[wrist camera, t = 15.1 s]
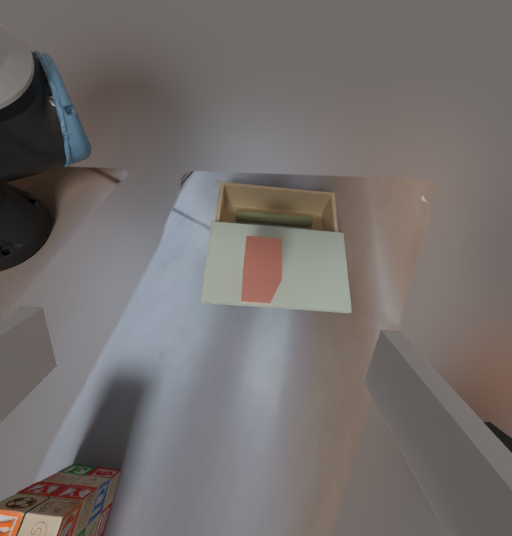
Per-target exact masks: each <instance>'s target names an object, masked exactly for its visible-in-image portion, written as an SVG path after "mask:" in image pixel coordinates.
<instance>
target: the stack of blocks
mask: <svg viewBox="0 0 512 536" xmlns="http://www.w3.org/2000/svg"><path fill="white" fill-rule="evenodd" d="M120 474H121V470H115V469H108V468H99V467H97V468H95V467H88V466H81V465H74V464H73V465H71V466H69V467H67V468H65V469H63V470H61V471H59V472H58V473H56V474H54V475H52V476H50V477H47V478H46V479H44V480H42V481H40V482H37V483H35V484H33V485H31V486H29V487H27V488H25V489H23V490H21V491H19V492H18V493H16V494H15V495H13V496H11V497H9V498H7V499H5V500H3V501H1V502H0V536H102V535H103V533H104V530H105V526H106V523H107V519H108V516H109V512H110V509H111V505H112V502H113V499H114V495H115V492H116V489H117V485H118V481H119V478H120Z"/></svg>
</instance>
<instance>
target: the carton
mask: <svg viewBox="0 0 512 536" xmlns="http://www.w3.org/2000/svg"><path fill="white" fill-rule="evenodd" d="M215 222H225V223H237V224H248V225H260V226H271V227H282V228H294V229H305V230H316V231H328V232H338V223H337V213H336V202H335V193H331V192H321V191H311V190H300V189H290V188H280V187H269V186H259V185H249V184H238V183H228V182H221V183H220V190H219V198H218V205H217V213H216V220H215Z"/></svg>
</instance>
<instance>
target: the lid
mask: <svg viewBox="0 0 512 536" xmlns="http://www.w3.org/2000/svg"><path fill="white" fill-rule="evenodd" d="M201 303H210V304H225V305H239V306H253V307H268V308H282V309H296V310H311V311H325V312H339V313H351V312H352V311H351V302H350V292H349V282H348V273H347V263H346V254H345V244H344V235H343V233H339V232H328V231H316V230H305V229H294V228H282V227H271V226H260V225H248V224H237V223H225V222H214V221H212V224H211V231H210V238H209V245H208V252H207V259H206V266H205V273H204V280H203V287H202V294H201Z"/></svg>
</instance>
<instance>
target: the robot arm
mask: <svg viewBox="0 0 512 536" xmlns="http://www.w3.org/2000/svg"><path fill="white" fill-rule="evenodd" d="M90 154H91V146H90V143H89V141H88V138H87V136H86V134H85V132H84V129H83V127H82V125H81V122H80V120H79V118H78V115H77V113H76V111H75V108H74V106H73V104H72V101H71V99H70V97H69V94H68V92H67V90H66V87H65V85H64V83H63V80H62V78H61V76H60V73H59V71H58V69H57V67H56V65H55V62H54V60H53V58H52V57H51V56H50V55H49V54H48V53H44V52H43V53H42V52H38V51H35V52H31V51H30V49H29V48H28V46H27V45H26V44H25V42H24V41H23V40H22V39H21V37H20V36H19V35H18V34H17V33H16V32H15V31H13V30H12V29H10V28H9V27H7V26H6V25H4V24H2V23H0V271H2V270H6V269H9V268H11V267H14V266H16V265H18V264H20V263H22V262H24V261H25V260H27V259H28V258H30V257H31V256H32V255H33V254H35V253H36V252H37V251H38V250H39V249H40V248H41V246H42V245H43V244H44V242H45V241H46V239H47V237H48V235H49V233H50V229H51V216H50V213H49V211H48V209H47V208H46V207H45V206H44V205H43V204H42V203H41V202H40V201H39V200H38V199H37V198H36V197H34V196H33V195H31V194H30V193H28V192H26V191H24V190H22V189H20V188H17V187H15V186H13V185H11V184H9V183H6V182H9V181H13V180H16V179H20V178H24V177H28V176H32V175H36V174H40V173H44V172H47V171H51V170H55V169H59V168H63V167H68V166H69V165H70V164H73V163H76V162H79V161H82V160H85V159H86V158H88V157H89V156H90ZM55 367H56V362H55V358H54V353H53V349H52V345H51V340H50V336H49V332H48V328H47V324H46V320H45V315H44V311H43V308H42V307H28V306H20V307H19V308H17V309H15V310H14V311H12V312H10V313H9V314H7V315H5V316H4V317H2V318H1V319H0V423H1V422H2V421H3V420H4V419H5V418H6V417H7V415H9V413H10V412H11V411H12V410H13V409H14V408H15V407H16V406H17V405H18V404H19V403H20V402H21V401H22V400H23V399H24V398H25V397H26V396H27V395H28V394H29V393H30V392H31V391H32V390H33V389H34V388H35V387H36V386H37V385H38V384H39V383H40V382H41V381H42V380H43V379H44V378H45V377H46V376H47V375H48V374H49V373H50V372H51V371H52V370H53V369H54V368H55ZM364 383H365V384H366V386H367V388H368V390H369V392H370V394H371V396H372V398H373V399H374V401H375V403H376V405H377V407H378V409H379V410H380V412H381V414H382V416H383V418H384V420H385V422H386V424H387V425H388V427H389V429H390V431H391V433H392V435H393V436H394V438H395V440H396V442H397V444H398V446H399V447H400V449H401V451H402V453H403V455H404V457H405V459H406V461H407V463H408V464H409V466H410V468H411V470H412V472H413V474H414V476H415V477H416V479H417V481H418V483H419V485H420V487H421V488H422V490H423V492H424V494H425V496H426V498H427V500H428V502H429V503H430V505H431V507H432V509H433V511H434V513H435V514H436V517H437V518H438V520H439V522H440V524H441V526H442V528H443V530H444V531H445V533H446V535H447V536H512V438H510V437H509V436H508V435H506V434H505V433H504V432H502V431H501V430H500V429H498V428H497V427H496V426H494V425H493V424H491V423H490V422H483V421H482V420H481V419H480V418H479V417H478V416H477V415H476V414H475V413H474V412H473V410H472V409H471V408H470V407H469V406H468V405H467V404H466V403H465V402H464V401H463V400H462V399H461V397H460V396H459V395H458V394H457V393H456V392H455V391H454V390H453V389H452V388H451V387H450V386H449V384H448V383H447V382H446V381H445V380H444V379H443V378H442V377H441V376H440V375H439V374H438V373H437V371H436V370H435V369H433V367H432V366H431V365H430V364H429V363H428V362H427V361H426V360H425V358H424V357H423V356H422V355H421V354H420V353H419V352H418V351H417V350H416V349H415V348H414V347H413V345H412V344H411V343H410V342H409V341H408V340H407V339H406V338H405V337H404V336H403V335H402V333H401V332H400V331H389V330H381V332H380V335H379V338H378V341H377V344H376V347H375V350H374V354H373V357H372V360H371V363H370V366H369V369H368V372H367V375H366V378H365V381H364Z"/></svg>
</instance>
